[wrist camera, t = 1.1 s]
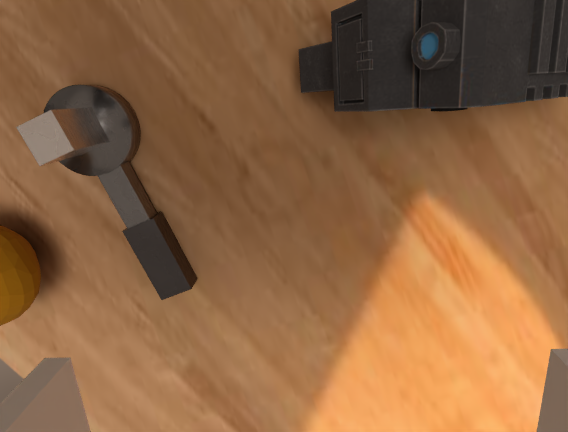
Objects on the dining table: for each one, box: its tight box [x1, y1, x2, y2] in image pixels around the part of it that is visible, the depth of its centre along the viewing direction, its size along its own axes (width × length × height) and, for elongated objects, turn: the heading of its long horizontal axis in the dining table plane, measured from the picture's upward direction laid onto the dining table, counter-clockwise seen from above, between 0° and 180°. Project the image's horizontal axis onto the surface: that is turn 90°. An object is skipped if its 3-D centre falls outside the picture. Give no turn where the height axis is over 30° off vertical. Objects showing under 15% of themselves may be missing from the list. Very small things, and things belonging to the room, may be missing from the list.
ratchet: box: [17, 85, 197, 300], centre depth 31 cm, size 19×7×7 cm, turn 23°
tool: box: [299, 0, 568, 111], centre depth 25 cm, size 6×19×15 cm, turn 94°
